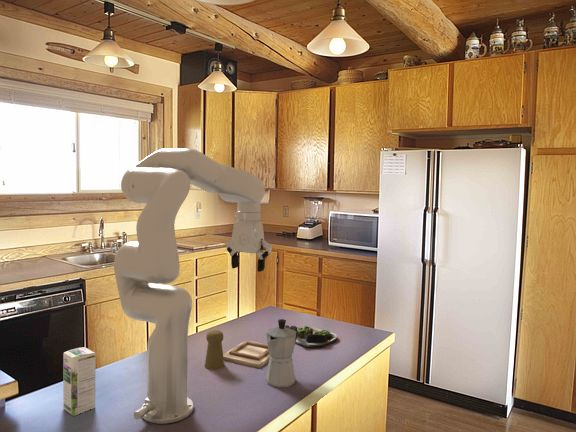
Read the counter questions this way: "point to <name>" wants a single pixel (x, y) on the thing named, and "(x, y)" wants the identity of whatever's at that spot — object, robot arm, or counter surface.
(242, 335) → the counter surface
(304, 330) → the salad plate
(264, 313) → the counter surface
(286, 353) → the coffee maker
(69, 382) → the syrup box
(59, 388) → the counter surface
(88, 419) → the counter surface
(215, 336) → the cork
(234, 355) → the maple board
